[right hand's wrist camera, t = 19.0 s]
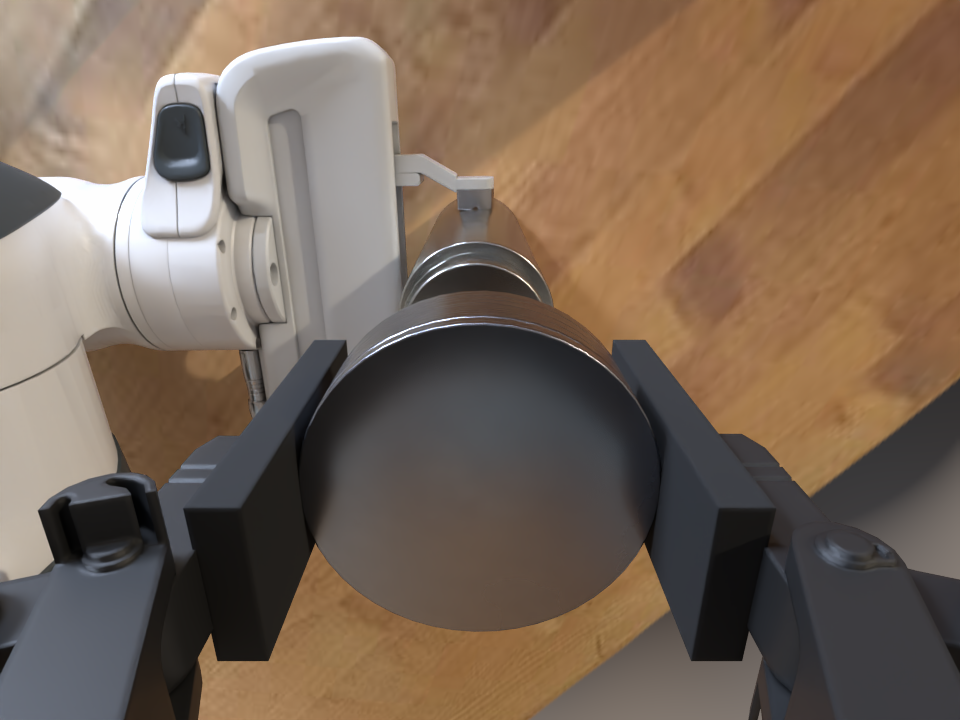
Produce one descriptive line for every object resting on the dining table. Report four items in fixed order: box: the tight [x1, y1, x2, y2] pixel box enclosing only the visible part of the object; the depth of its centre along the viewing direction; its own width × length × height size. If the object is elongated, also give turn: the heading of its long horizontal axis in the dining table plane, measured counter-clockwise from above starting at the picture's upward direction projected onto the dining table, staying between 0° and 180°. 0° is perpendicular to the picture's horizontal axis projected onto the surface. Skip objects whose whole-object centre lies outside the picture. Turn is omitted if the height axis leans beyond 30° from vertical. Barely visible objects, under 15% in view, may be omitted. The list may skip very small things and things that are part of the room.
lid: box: [298, 291, 661, 632], centre depth 11 cm, size 6×6×2 cm
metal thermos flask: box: [398, 198, 554, 311], centre depth 27 cm, size 6×6×18 cm
